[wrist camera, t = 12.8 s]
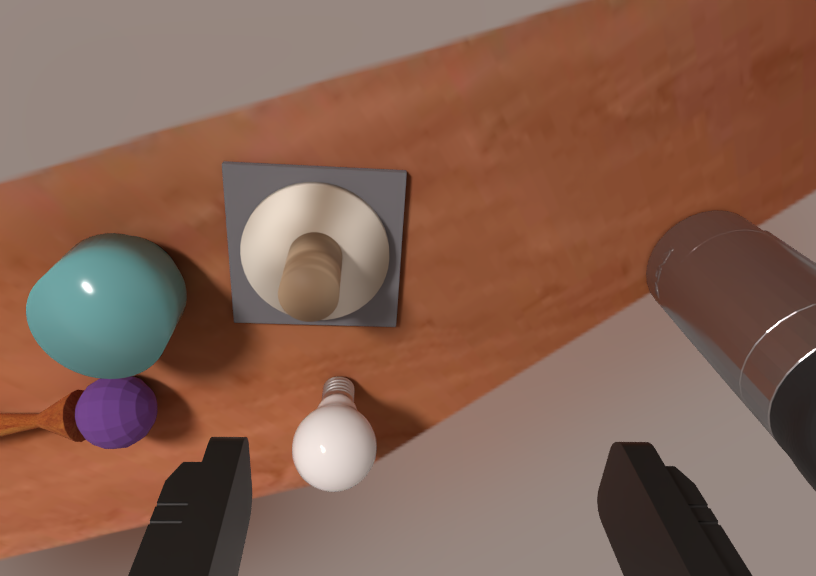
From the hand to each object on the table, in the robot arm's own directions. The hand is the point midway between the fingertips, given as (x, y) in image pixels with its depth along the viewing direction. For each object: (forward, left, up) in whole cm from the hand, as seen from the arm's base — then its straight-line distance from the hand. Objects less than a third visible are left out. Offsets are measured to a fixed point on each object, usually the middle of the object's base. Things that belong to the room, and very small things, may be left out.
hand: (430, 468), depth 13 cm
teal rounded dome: (+19, +13, -33) cm, 40 cm away
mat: (+5, +10, -33) cm, 35 cm away
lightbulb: (+3, +23, -33) cm, 40 cm away
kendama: (+28, +25, -34) cm, 50 cm away
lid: (+5, +10, -32) cm, 34 cm away
